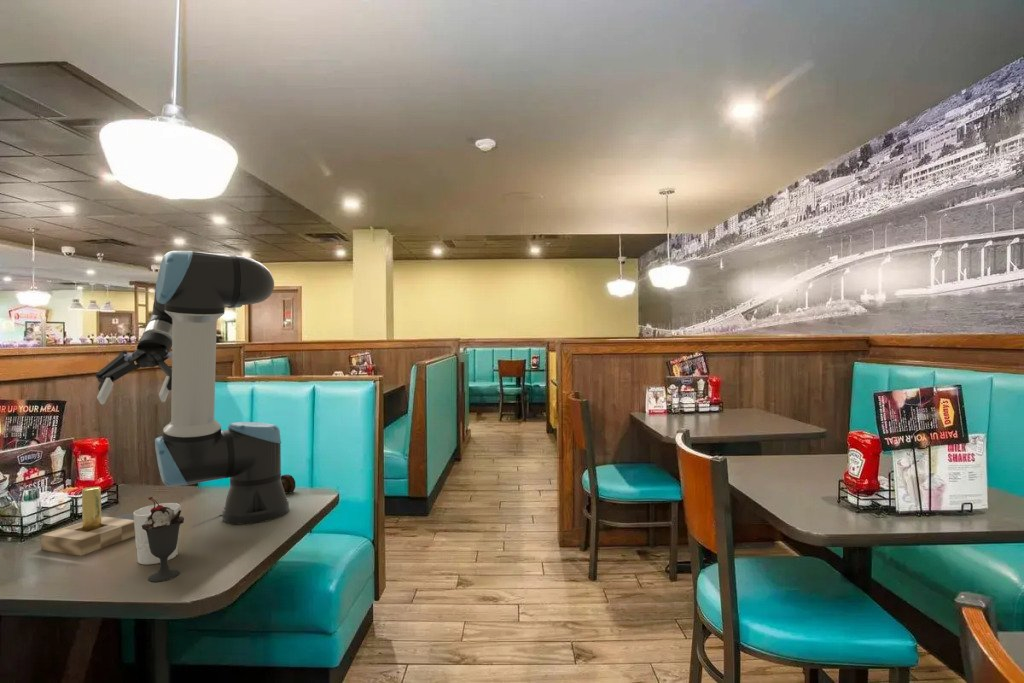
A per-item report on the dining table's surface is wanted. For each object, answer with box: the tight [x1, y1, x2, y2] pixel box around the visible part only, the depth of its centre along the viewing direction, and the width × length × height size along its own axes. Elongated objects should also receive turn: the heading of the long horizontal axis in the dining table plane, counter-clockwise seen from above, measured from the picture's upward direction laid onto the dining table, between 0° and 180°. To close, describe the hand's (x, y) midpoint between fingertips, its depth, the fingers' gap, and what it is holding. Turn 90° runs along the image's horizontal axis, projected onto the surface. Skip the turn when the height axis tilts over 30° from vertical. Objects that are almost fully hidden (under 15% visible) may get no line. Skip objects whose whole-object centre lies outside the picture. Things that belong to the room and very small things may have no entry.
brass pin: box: [81, 486, 102, 532], centre depth 113 cm, size 3×3×12 cm
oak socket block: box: [40, 515, 135, 556], centre depth 113 cm, size 12×12×4 cm
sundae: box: [142, 496, 185, 583], centre depth 97 cm, size 7×7×15 cm
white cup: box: [132, 502, 181, 566], centre depth 105 cm, size 8×8×10 cm
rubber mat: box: [112, 513, 134, 520], centre depth 127 cm, size 10×8×1 cm
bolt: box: [281, 474, 296, 494], centre depth 145 cm, size 6×5×15 cm
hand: (131, 399), depth 130 cm, fingers open, 13 cm apart
